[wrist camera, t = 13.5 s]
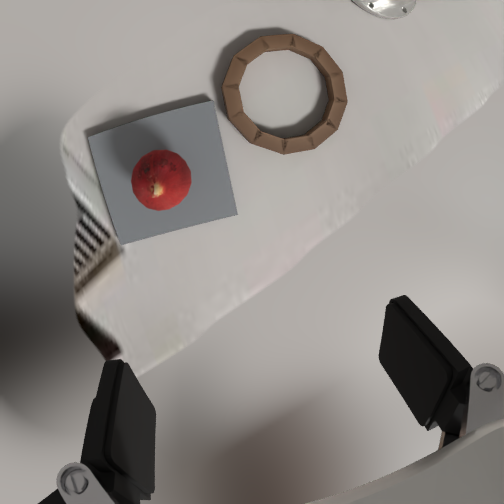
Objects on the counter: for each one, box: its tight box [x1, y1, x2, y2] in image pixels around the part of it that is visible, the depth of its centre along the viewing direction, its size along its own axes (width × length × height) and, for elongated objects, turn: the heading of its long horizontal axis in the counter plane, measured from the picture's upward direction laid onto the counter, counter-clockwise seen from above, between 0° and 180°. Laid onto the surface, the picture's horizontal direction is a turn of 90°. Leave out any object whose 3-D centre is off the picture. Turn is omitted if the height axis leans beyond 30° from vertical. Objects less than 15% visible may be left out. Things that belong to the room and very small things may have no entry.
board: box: [88, 100, 238, 245], centre depth 32 cm, size 14×13×1 cm
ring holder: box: [221, 34, 347, 154], centre depth 30 cm, size 14×14×2 cm
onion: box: [131, 150, 192, 211], centre depth 28 cm, size 6×6×8 cm
